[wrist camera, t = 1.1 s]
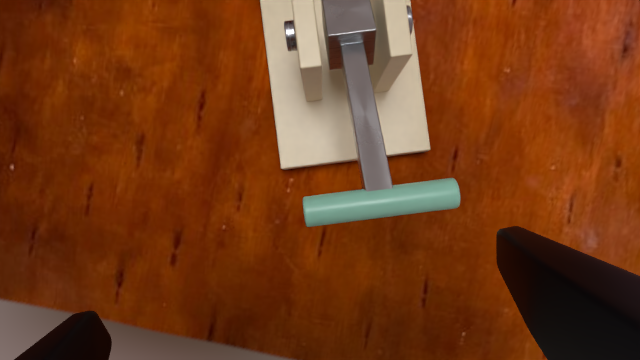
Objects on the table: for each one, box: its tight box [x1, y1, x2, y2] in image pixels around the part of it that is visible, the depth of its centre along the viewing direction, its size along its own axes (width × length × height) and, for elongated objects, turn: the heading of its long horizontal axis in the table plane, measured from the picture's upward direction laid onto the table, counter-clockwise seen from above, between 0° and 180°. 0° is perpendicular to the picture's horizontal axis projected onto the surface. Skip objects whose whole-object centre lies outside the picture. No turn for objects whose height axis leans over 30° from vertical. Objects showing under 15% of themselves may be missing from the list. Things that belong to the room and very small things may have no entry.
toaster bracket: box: [260, 0, 430, 170], centre depth 22 cm, size 12×9×8 cm
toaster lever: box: [303, 0, 460, 227], centre depth 18 cm, size 11×6×2 cm, turn 7°
